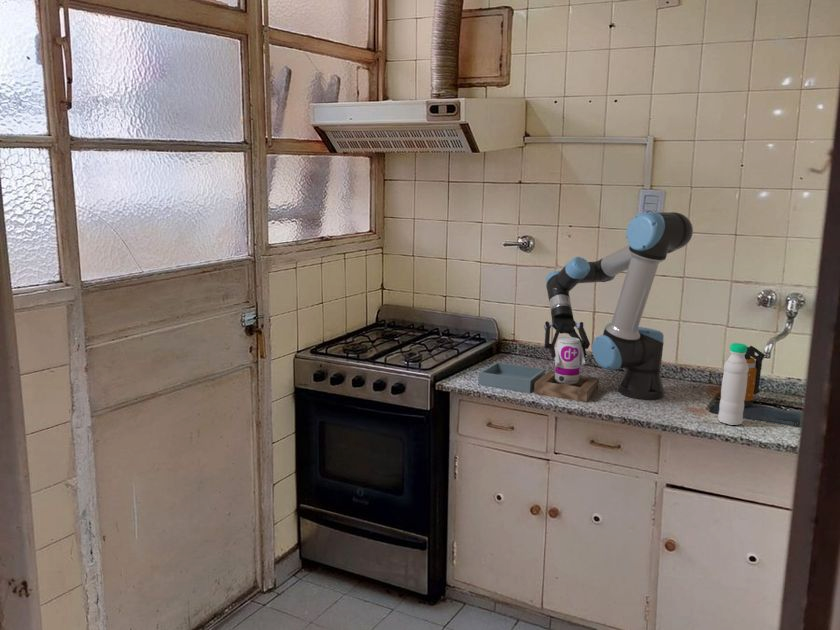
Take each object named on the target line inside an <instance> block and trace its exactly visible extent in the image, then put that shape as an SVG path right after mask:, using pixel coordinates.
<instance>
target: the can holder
mask: <svg viewBox="0 0 840 630" xmlns="http://www.w3.org/2000/svg"><path fill="white" fill-rule="evenodd" d="M599 387H600V378H599V377H592V376H587V375H580V374H579V381H578V382H577V383H575V384H564V383H559V382H557V381H556V380H555V371H552V370H549V371H548V372H545V375H544V376H543V377H541V378H540V379H539V380H537V381H536V382H535V386H534V390H533V394H534V395H538V396H545V397H550V396H551V397H552V398H556V399H561V400H562V399H565V400H568V401H569V400H570V401H576V402H581V403H582V402H583V403H587V402H588V401H589V400H590V399H591V398H592V397H593V396H594V395H595V394H596V393H597V392H598V391H599V389H600V388H599ZM551 397H550V398H551Z"/></svg>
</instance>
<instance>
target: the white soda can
mask: <svg viewBox="0 0 840 630" xmlns="http://www.w3.org/2000/svg"><path fill="white" fill-rule="evenodd" d="M556 347H557V350H558V356H559V362H560V363H559V365H558V367H556V366H555V367H554V372H555V380H556V381H557V382H559V383H564V384H575V383H577V382H578V381H579V375H580V370H581V363H580V357H581V342H580V339H578V338H574V337H571V336H562V337H559V338H558V339H557V341H556Z"/></svg>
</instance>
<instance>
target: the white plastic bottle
mask: <svg viewBox="0 0 840 630" xmlns="http://www.w3.org/2000/svg"><path fill="white" fill-rule="evenodd" d="M747 347H748V346H747V345H746V344H744V343H738V342H734V343H731V344H730V346H729V352H730V356H729V357H728V358H727V360H726V361H725V363H724V364H723V375H722V381H721V389H720V400H719V405H718V406H719V410H718V414H717V421H718V420H719V421H720V422H723V423H727V424H733V425H737V424H741V425H742V424H743V421H744V411H745V407H744V400H745V395H746V388H747V373H748V371H749V367H748V364H747V362H746V359H745V354H746V352H747ZM719 421H718V422H719ZM720 422H719V423H720Z"/></svg>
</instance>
